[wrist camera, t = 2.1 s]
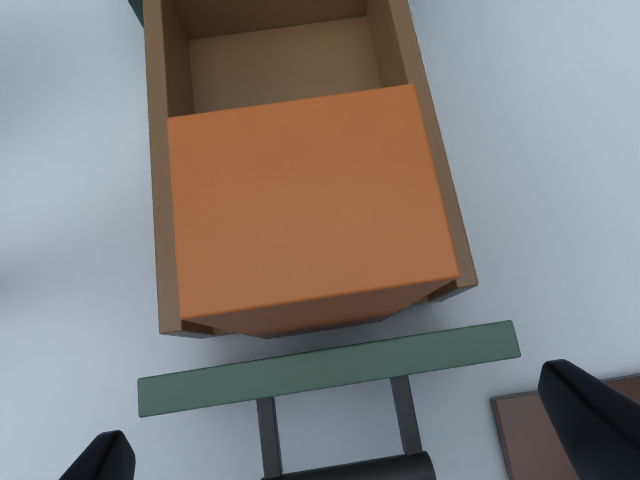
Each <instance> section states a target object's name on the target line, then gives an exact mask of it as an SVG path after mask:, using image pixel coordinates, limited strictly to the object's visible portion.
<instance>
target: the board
mask: <svg viewBox="0 0 640 480" xmlns="http://www.w3.org/2000/svg"><path fill="white" fill-rule="evenodd" d="M600 381H602V382H604V383H605V384H607V385H609V386H610V387H612V388H614V389H615V390H617V391H618V392H620V393H622V394H623V395H625V396H627V397H628V398H630V399H632V400H633V401H635V402H637V403H638V404H640V374H636V375H630V376H624V377H617V378H611V379H605V380H600ZM490 400H491V404H492V408H493V413H494V417H495V421H496V425H497V429H498V433H499V437H500V441H501V446H502V450H503V454H504V458H505V462H506V466H507V470H508V474H509V479H510V480H579V478H578V476H577V474H576V473H575V471H574V469H573V467H572V465H571V463H570V461H569V459H568V457H567V455H566V453H565V451H564V448H563V446H562V444H561V442H560V440H559V438H558V436H557V433H556V431H555V429H554V427H553V425H552V423H551V421H550V419H549V416H548V414H547V412H546V410H545V408H544V406H543V404H542V401H541V399H540V397H539V393H538V390H537V391H531V392H525V393H519V394H513V395H507V396H500V397H494V398H491V399H490Z"/></svg>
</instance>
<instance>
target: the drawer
mask: <svg viewBox="0 0 640 480" xmlns="http://www.w3.org/2000/svg"><path fill="white" fill-rule="evenodd" d="M143 18H144V38H145V58H146V78H147V98H148V118H149V138H150V157H151V177H152V197H153V217H154V237H155V257H156V277H157V297H158V317H159V333H160V334H162V335H171V336H180V337H189V338H199V339H203V338H209V337H216V336H222V335H229V334H235V333H238V332H233V331H229V330H225V329H220V328H216V327H212V326H207V325H203V324H198V323H194V322H190V321H185V320H181V319H180V317H179V301H178V285H177V269H176V253H175V238H174V222H173V206H172V190H171V174H170V158H169V143H168V127H167V119H168V118H169V117H176V116H183V115H191V114H198V113H205V112H212V111H219V110H226V109H234V108H241V107H248V106H255V105H262V104H269V103H277V102H284V101H291V100H298V99H305V98H312V97H320V96H327V95H334V94H341V93H348V92H355V91H363V90H370V89H377V88H384V87H391V86H398V85H406V84H414V85H415V88H416V92H417V97H418V101H419V105H420V109H421V113H422V117H423V121H424V125H425V130H426V134H427V138H428V142H429V146H430V150H431V154H432V158H433V162H434V167H435V171H436V175H437V179H438V183H439V187H440V191H441V195H442V200H443V204H444V208H445V212H446V216H447V220H448V224H449V228H450V233H451V237H452V241H453V245H454V249H455V253H456V257H457V261H458V265H459V270H460V277H459V278H457V279H455V280H453V281H451V282H450V283H448V284H446V285H444V286H443V287H441V288H439V289H437V290H435V291H434V292H432V293H430V294H428V295H426V296H425V297H423V298H421V299H419V300H418V301H416V302H414V303H412V304H410V305H409V306H416V305H422V304H429V303H435V302H441V301H443V300H445V299H448V298H450V297H452V296H455V295H457V294H459V293H462V292H464V291H466V290H468V289H471V288H473V287H475V286H477V285H478V279H477V275H476V271H475V267H474V263H473V260H472V256H471V252H470V248H469V244H468V240H467V236H466V232H465V228H464V224H463V220H462V216H461V212H460V208H459V204H458V200H457V196H456V192H455V188H454V184H453V180H452V176H451V172H450V168H449V165H448V161H447V157H446V153H445V149H444V145H443V141H442V137H441V133H440V129H439V125H438V121H437V117H436V113H435V109H434V105H433V101H432V97H431V93H430V89H429V85H428V81H427V77H426V73H425V70H424V66H423V62H422V58H421V54H420V50H419V46H418V42H417V38H416V34H415V30H414V26H413V22H412V18H411V14H410V10H409V6H408V2H407V0H143ZM409 306H407V307H409ZM518 357H521V353H520V349H519V345H518V341H517V338H516V334H515V330H514V327H513V323H512V321H511V320H507V321H501V322H494V323H488V324H482V325H475V326H469V327H463V328H456V329H450V330H443V331H437V332H431V333H424V334H418V335H412V336H405V337H399V338H393V339H386V340H380V341H373V342H367V343H361V344H354V345H348V346H342V347H335V348H329V349H322V350H316V351H310V352H303V353H297V354H291V355H284V356H278V357H272V358H265V359H259V360H252V361H246V362H240V363H233V364H227V365H221V366H214V367H208V368H201V369H195V370H189V371H182V372H176V373H170V374H163V375H157V376H150V377H144V378H139V379H138V409H139V417H140V418H142V417H149V416H155V415H161V414H167V413H174V412H180V411H186V410H192V409H199V408H205V407H211V406H217V405H224V404H230V403H236V402H243V401H249V400H255V399H256V402H257V411H258V421H259V430H260V440H261V449H262V459H263V468H264V477H263V478H261V480H436V475H435V471H434V467H433V464H432V461H431V458H430V456H429V454H428V453H427V452H426V451H423V450H422V445H421V440H420V435H419V430H418V425H417V420H416V415H415V409H414V404H413V399H412V394H411V389H410V384H409V379H408V375H412V374H418V373H424V372H430V371H437V370H443V369H449V368H455V367H462V366H468V365H474V364H480V363H487V362H493V361H499V360H506V359H512V358H518ZM387 378H390V381H391V386H392V391H393V397H394V402H395V408H396V413H397V418H398V424H399V429H400V435H401V440H402V445H403V451H404V452H405V454H402V455H396V456H390V457H384V458H378V459H372V460H366V461H360V462H354V463H348V464H342V465H336V466H330V467H324V468H318V469H311V470H305V471H299V472H293V473H287V474H282V473H283V468H282V459H281V450H280V442H279V433H278V425H277V416H276V407H275V399H274V396H280V395H286V394H293V393H299V392H305V391H311V390H318V389H324V388H330V387H336V386H343V385H349V384H355V383H361V382H368V381H374V380H380V379H387Z"/></svg>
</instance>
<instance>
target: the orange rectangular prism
mask: <svg viewBox="0 0 640 480" xmlns="http://www.w3.org/2000/svg"><path fill="white" fill-rule="evenodd" d="M167 127H168V143H169V158H170V174H171V190H172V206H173V222H174V238H175V253H176V269H177V285H178V301H179V317H180V319H181V320H185V321H190V322H194V323H198V324H203V325H207V326H212V327H216V328H220V329H225V330H229V331H233V332H238V333H242V334H246V335H251V336H255V337H259V338H264V339H272V338H278V337H285V336H291V335H297V334H304V333H310V332H317V331H323V330H330V329H336V328H342V327H349V326H355V325H362V324H368V323H375V322H380V321H382V320H384V319H385V318H387V317H389V316H391V315H393V314H394V313H396V312H398V311H400V310H402V309H403V308H405V307H407V306H409V305H410V304H412V303H414V302H416V301H418V300H419V299H421V298H423V297H425V296H426V295H428V294H430V293H432V292H434V291H435V290H437V289H439V288H441V287H443V286H444V285H446V284H448V283H450V282H451V281H453V280H455V279H457V278H459V277H460V270H459V265H458V261H457V257H456V253H455V249H454V245H453V241H452V237H451V233H450V228H449V224H448V220H447V216H446V212H445V208H444V204H443V200H442V195H441V191H440V187H439V183H438V179H437V175H436V171H435V167H434V162H433V158H432V154H431V150H430V146H429V142H428V138H427V134H426V130H425V125H424V121H423V117H422V113H421V109H420V105H419V101H418V97H417V92H416V88H415V85H414V84H406V85H398V86H391V87H384V88H377V89H370V90H363V91H355V92H348V93H341V94H334V95H327V96H320V97H312V98H305V99H298V100H291V101H284V102H277V103H269V104H262V105H255V106H248V107H241V108H234V109H226V110H219V111H212V112H205V113H198V114H191V115H183V116H176V117H169V118H168V119H167Z"/></svg>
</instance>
